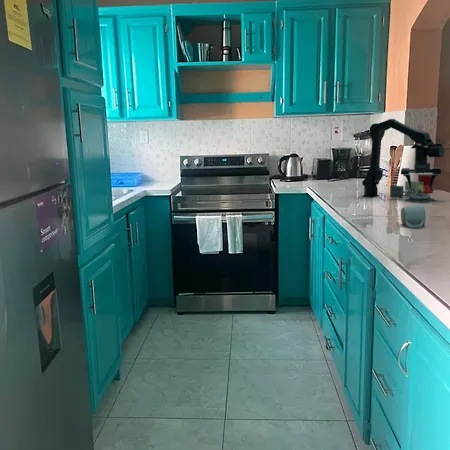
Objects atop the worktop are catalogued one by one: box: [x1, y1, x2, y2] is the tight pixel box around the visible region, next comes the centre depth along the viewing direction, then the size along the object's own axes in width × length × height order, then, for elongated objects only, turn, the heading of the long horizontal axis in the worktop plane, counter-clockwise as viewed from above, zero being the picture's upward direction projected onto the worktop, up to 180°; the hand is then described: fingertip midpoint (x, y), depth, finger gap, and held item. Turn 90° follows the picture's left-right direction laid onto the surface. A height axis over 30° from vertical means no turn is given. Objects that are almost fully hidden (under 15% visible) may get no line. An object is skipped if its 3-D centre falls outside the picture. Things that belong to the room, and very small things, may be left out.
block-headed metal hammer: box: [389, 185, 413, 199], centre depth 246 cm, size 6×18×6 cm, turn 125°
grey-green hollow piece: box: [403, 180, 420, 198], centre depth 249 cm, size 7×6×8 cm
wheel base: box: [404, 197, 435, 204], centre depth 234 cm, size 10×10×1 cm
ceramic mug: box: [400, 204, 427, 229], centre depth 176 cm, size 11×8×8 cm
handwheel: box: [408, 182, 432, 200], centre depth 233 cm, size 10×10×8 cm
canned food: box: [417, 173, 435, 195], centre depth 260 cm, size 8×8×11 cm
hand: (420, 188), depth 236 cm, fingers open, 9 cm apart
